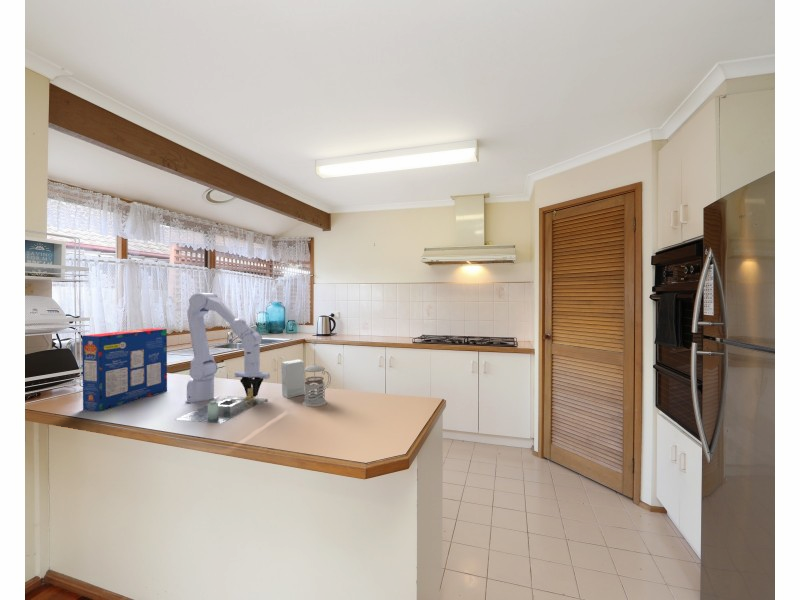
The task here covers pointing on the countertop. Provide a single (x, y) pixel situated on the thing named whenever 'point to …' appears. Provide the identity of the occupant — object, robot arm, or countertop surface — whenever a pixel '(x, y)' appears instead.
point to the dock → (223, 409)
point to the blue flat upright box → (123, 367)
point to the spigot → (212, 410)
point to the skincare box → (293, 378)
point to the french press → (315, 386)
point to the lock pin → (249, 394)
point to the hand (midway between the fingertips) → (252, 395)
